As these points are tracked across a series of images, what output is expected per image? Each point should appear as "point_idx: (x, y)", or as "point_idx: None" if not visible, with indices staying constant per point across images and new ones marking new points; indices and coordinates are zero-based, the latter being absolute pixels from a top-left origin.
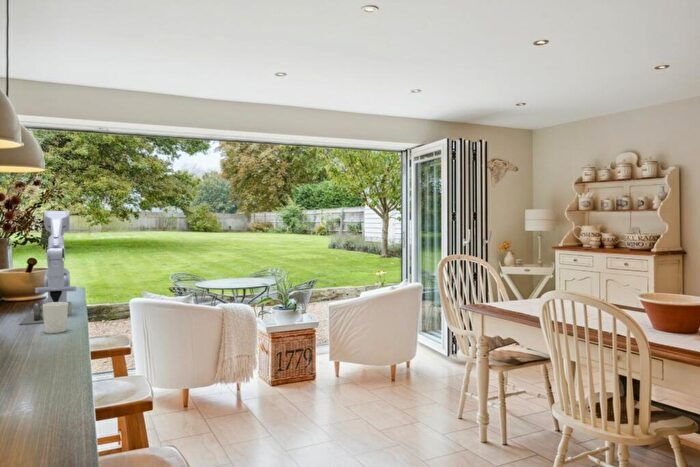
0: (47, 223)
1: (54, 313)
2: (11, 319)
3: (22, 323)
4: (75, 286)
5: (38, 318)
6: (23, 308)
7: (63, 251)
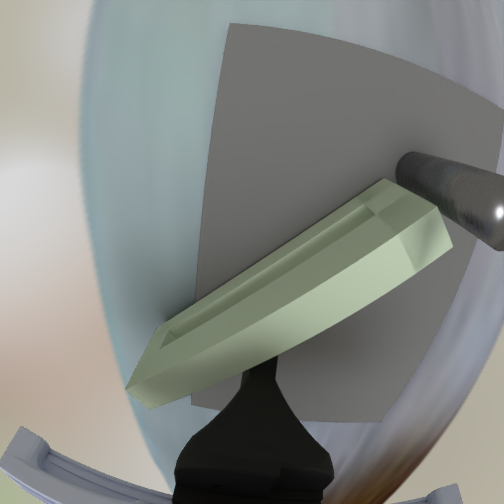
0: None
1: None
2: (485, 329)
3: (492, 107)
4: (11, 478)
5: (414, 155)
6: (356, 490)
7: None
